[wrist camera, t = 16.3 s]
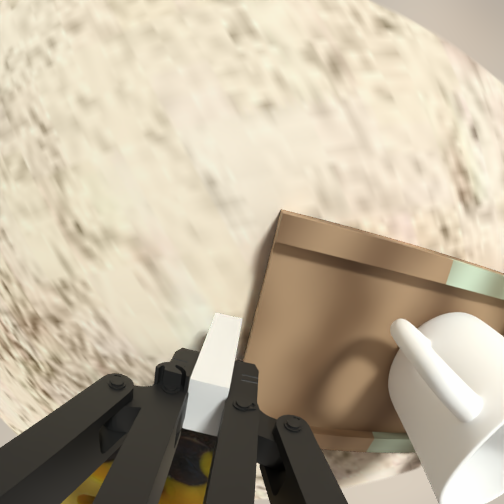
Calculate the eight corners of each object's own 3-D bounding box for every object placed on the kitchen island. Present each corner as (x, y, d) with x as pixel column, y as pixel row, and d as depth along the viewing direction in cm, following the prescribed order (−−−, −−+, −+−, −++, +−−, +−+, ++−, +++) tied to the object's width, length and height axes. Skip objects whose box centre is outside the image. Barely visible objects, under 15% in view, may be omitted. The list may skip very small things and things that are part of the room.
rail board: (229, 409, 22) (219, 466, 16) (281, 209, 19) (285, 220, 13) (454, 430, 22) (479, 471, 16) (525, 280, 19) (572, 304, 13)
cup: (423, 425, 20) (472, 520, 10) (321, 346, 19) (356, 475, 9) (499, 349, 18) (577, 420, 8) (417, 244, 17) (535, 301, 7)
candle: (195, 483, 25) (174, 565, 15) (98, 443, 24) (55, 514, 15) (230, 420, 23) (211, 523, 13) (110, 370, 22) (45, 451, 13)
